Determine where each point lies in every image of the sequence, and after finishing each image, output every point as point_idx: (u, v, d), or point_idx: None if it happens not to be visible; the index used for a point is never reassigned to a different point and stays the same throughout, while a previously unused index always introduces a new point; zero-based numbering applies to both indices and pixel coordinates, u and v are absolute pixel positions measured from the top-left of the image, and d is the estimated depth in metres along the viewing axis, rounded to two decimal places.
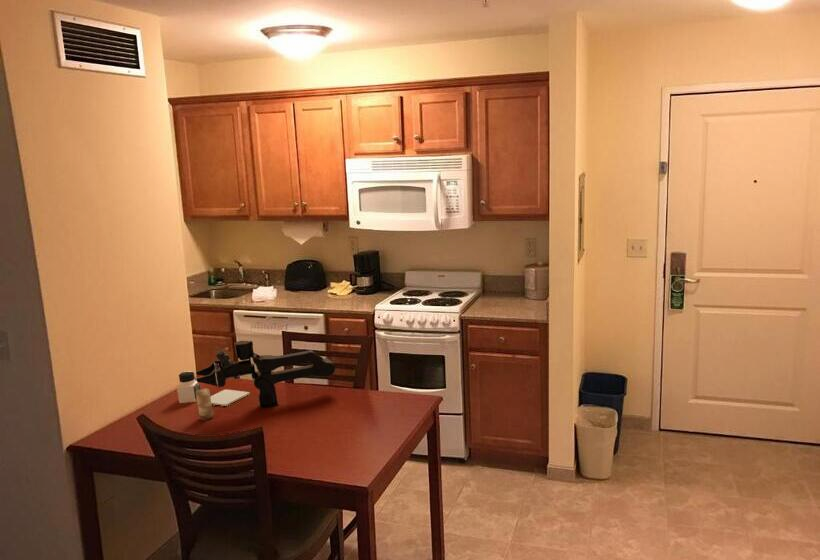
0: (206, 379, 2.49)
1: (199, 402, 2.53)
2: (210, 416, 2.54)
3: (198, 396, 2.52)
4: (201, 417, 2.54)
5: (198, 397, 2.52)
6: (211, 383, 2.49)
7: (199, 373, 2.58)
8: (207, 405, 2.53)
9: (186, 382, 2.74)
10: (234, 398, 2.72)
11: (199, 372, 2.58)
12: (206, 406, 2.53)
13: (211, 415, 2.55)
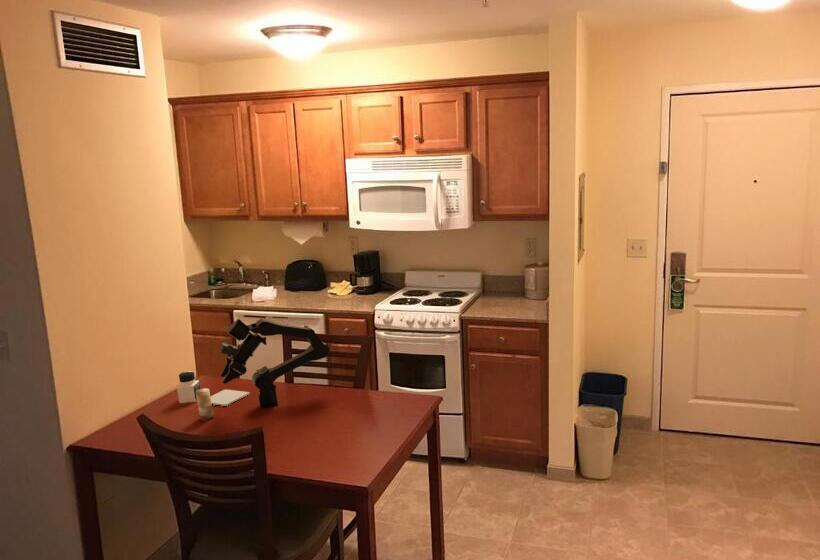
0: (230, 376, 2.51)
1: (199, 402, 2.53)
2: (210, 416, 2.54)
3: (198, 396, 2.52)
4: (201, 417, 2.54)
5: (198, 397, 2.52)
6: (236, 376, 2.51)
7: (224, 374, 2.60)
8: (207, 405, 2.53)
9: (186, 382, 2.74)
10: (234, 398, 2.72)
11: (223, 373, 2.60)
12: (206, 406, 2.53)
13: (211, 415, 2.55)
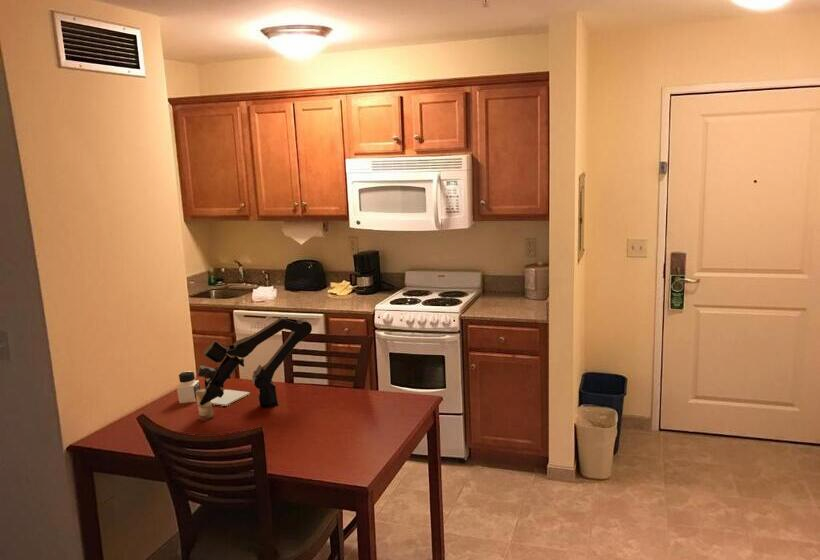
0: (206, 398, 2.51)
1: (199, 402, 2.53)
2: (210, 416, 2.54)
3: (198, 396, 2.52)
4: (201, 417, 2.54)
5: (198, 397, 2.52)
6: (213, 397, 2.51)
7: None
8: (207, 405, 2.53)
9: (186, 382, 2.74)
10: (234, 398, 2.72)
11: None
12: (206, 406, 2.53)
13: (211, 415, 2.55)
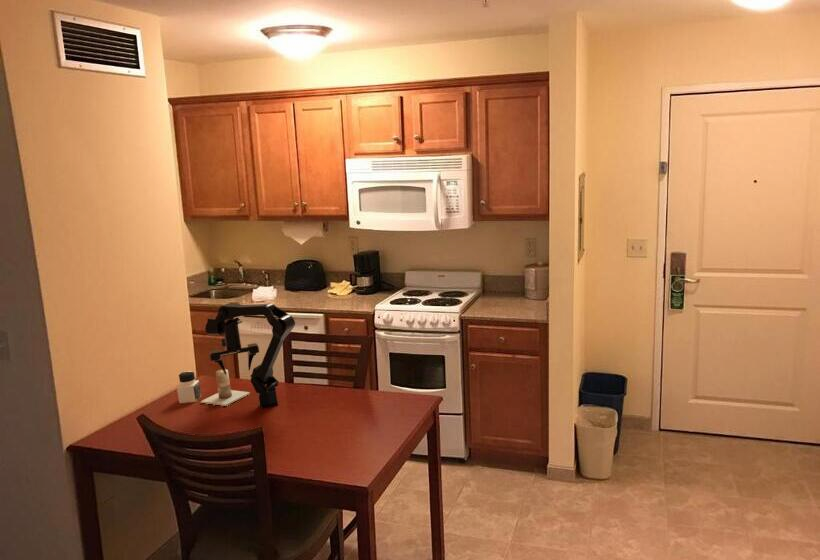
0: None
1: None
2: (223, 396, 2.72)
3: (216, 375, 2.73)
4: None
5: (216, 376, 2.73)
6: None
7: (248, 367, 2.67)
8: (221, 385, 2.72)
9: (186, 382, 2.74)
10: (234, 398, 2.72)
11: (248, 367, 2.67)
12: (220, 387, 2.72)
13: (225, 395, 2.72)
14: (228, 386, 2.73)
